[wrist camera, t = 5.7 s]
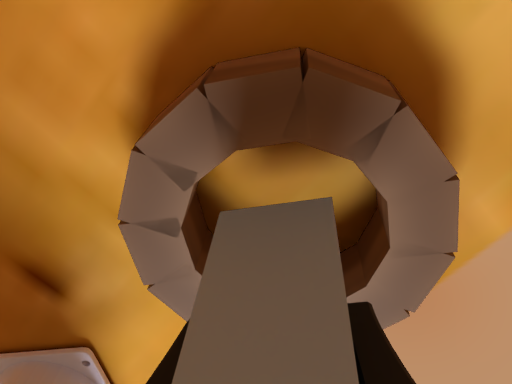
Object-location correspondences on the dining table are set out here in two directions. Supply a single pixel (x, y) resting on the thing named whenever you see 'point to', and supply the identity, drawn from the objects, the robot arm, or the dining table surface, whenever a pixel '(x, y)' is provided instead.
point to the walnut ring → (309, 133)
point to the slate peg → (271, 301)
